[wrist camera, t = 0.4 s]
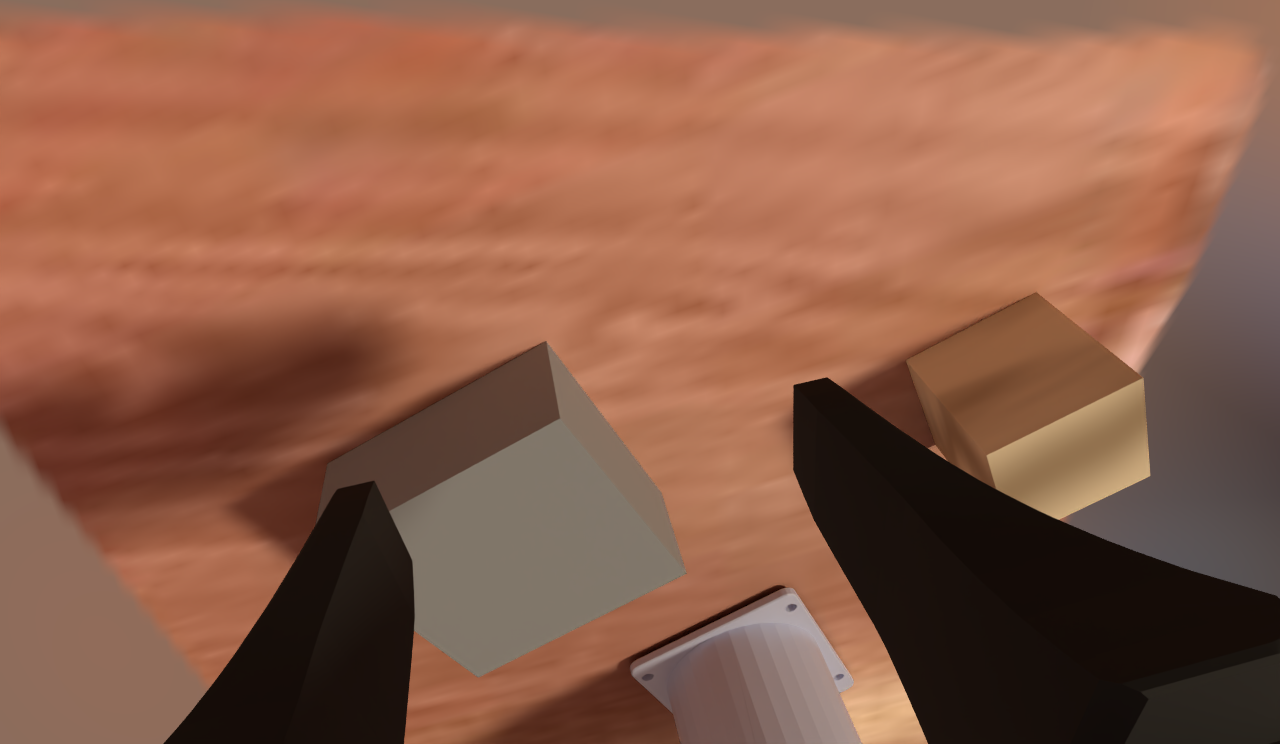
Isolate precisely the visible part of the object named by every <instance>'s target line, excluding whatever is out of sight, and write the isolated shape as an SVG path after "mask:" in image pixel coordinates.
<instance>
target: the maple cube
mask: <svg viewBox="0 0 1280 744" xmlns="http://www.w3.org/2000/svg"><path fill="white" fill-rule="evenodd" d="M906 363H907V365H908V368H909V371H910V374H911V377H912V380H913V382H914V385H915V388H916V391H917V394H918V397H919V400H920V402H921V405H922V408H923V411H924V414H925V417H926V419H927V422H928V425H929V428H930V431H931V434H932V436H933V439H934V442H935V445H936V446H937V447H938V449H939V450H940V451H941V453H942V454H943V455H944V456H945V458H946V459H947V460H948V461H949V462H950V463H951V464H953V465H955V466H956V467H958V468H960V469H962V470H963V471H965V472H967V473H968V474H970V475H972V476H973V477H975V478H977V479H978V480H980V481H982V482H984V483H986V484H987V485H989V486H991V487H993V488H995V489H997V490H998V491H1000V492H1002V493H1004V494H1006V495H1008V496H1010V497H1012V498H1014V499H1016V500H1018V501H1020V502H1022V503H1024V504H1026V505H1028V506H1030V507H1032V508H1034V509H1036V510H1038V511H1040V512H1042V513H1045V514H1047V515H1049V516H1051V517H1053V518H1055V519H1058V520H1059V519H1061V518H1063V517H1065V516H1067V515H1069V514H1071V513H1074V512H1076V511H1078V510H1080V509H1082V508H1084V507H1086V506H1088V505H1090V504H1092V503H1094V502H1097V501H1098V500H1101V499H1103V498H1105V497H1107V496H1109V495H1111V494H1113V493H1115V492H1117V491H1119V490H1122V489H1124V488H1126V487H1128V486H1130V485H1132V484H1134V483H1136V482H1138V481H1141V480H1143V479H1145V478H1147V477H1149V476H1150V465H1149V452H1148V438H1147V424H1146V410H1145V396H1144V382H1143V377H1142V376H1140V375H1139V374H1138V373H1137V372H1135V371H1134V370H1133V369H1132V368H1130V367H1129V366H1128V365H1127V364H1125V363H1124V362H1123V361H1122V360H1120V359H1119V358H1118V357H1117V356H1115V355H1114V354H1113V353H1112V352H1110V351H1109V350H1108V349H1107V348H1105V347H1104V346H1103V345H1102V344H1100V343H1099V342H1098V341H1097V340H1095V339H1094V338H1093V337H1092V336H1090V335H1089V334H1088V333H1087V332H1085V331H1084V330H1083V329H1082V328H1080V327H1079V326H1078V325H1077V324H1075V323H1074V322H1073V321H1072V320H1070V319H1069V318H1068V317H1067V316H1065V315H1064V314H1063V313H1062V312H1060V311H1059V310H1058V309H1057V308H1055V307H1054V306H1053V305H1052V304H1050V303H1049V302H1048V301H1047V300H1045V299H1044V298H1043V297H1042V296H1040V295H1039V294H1038V293H1037V292H1036V293H1034V294H1032V295H1030V296H1028V297H1026V298H1024V299H1023V300H1021V301H1019V302H1017V303H1015V304H1013V305H1011V306H1009V307H1007V308H1005V309H1003V310H1001V311H999V312H998V313H996V314H994V315H992V316H990V317H988V318H986V319H984V320H982V321H980V322H978V323H976V324H974V325H973V326H971V327H969V328H967V329H965V330H963V331H961V332H959V333H957V334H955V335H953V336H951V337H949V338H948V339H946V340H944V341H942V342H940V343H938V344H936V345H934V346H932V347H930V348H928V349H926V350H924V351H923V352H921V353H919V354H917V355H915V356H913V357H911V358H909V359H907V360H906Z"/></svg>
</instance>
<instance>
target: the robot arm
mask: <svg viewBox="0 0 1280 744" xmlns="http://www.w3.org/2000/svg"><path fill="white" fill-rule="evenodd" d="M793 470H794V473H795V475H796V478H797V480H798V483H799V485H800V488H801V490H802V493H803V495H804V498H805V500H806V502H807V505H808V507H809V509H810V512H811V514H812V516H813V519H814V521H815V522H816V524H817V526H818V528H819V530H820V531H821V533H822V535H823V537H824V539H825V540H826V542H827V544H828V546H829V547H830V549H831V551H832V553H833V554H834V556H835V558H836V560H837V561H838V563H839V565H840V567H841V568H842V570H843V572H844V574H845V575H846V577H847V579H848V581H849V582H850V584H851V586H852V587H853V589H854V591H855V593H856V594H857V596H858V598H859V600H860V601H861V603H862V605H863V607H864V608H865V610H866V612H867V614H868V615H869V617H870V619H871V620H872V622H873V624H874V626H875V628H876V630H877V631H878V633H879V635H880V637H881V639H882V641H883V643H884V645H885V647H886V649H887V651H888V653H889V655H890V658H891V660H892V662H893V664H894V666H895V669H896V671H897V673H898V675H899V678H900V680H901V682H902V684H903V687H904V689H905V691H906V693H907V695H908V698H909V700H910V702H911V705H912V707H913V709H914V712H915V714H916V716H917V719H918V721H919V723H920V726H921V728H922V730H923V733H924V735H925V737H926V740H927V742H928V744H1280V599H1279V598H1278V597H1277V596H1275V595H1272V594H1268V593H1265V592H1262V591H1258V590H1255V589H1252V588H1248V587H1245V586H1241V585H1238V584H1235V583H1231V582H1228V581H1224V580H1221V579H1217V578H1214V577H1211V576H1207V575H1204V574H1200V573H1197V572H1194V571H1191V570H1187V569H1184V568H1181V567H1179V566H1175V565H1173V564H1170V563H1167V562H1164V561H1161V560H1158V559H1156V558H1153V557H1150V556H1147V555H1144V554H1141V553H1139V552H1136V551H1133V550H1130V549H1128V548H1125V547H1123V546H1120V545H1117V544H1115V543H1112V542H1109V541H1107V540H1104V539H1102V538H1100V537H1097V536H1095V535H1093V534H1090V533H1088V532H1086V531H1083V530H1081V529H1079V528H1076V527H1074V526H1071V525H1069V524H1067V523H1064V522H1062V521H1060V520H1058V519H1055V518H1053V517H1051V516H1049V515H1047V514H1045V513H1042V512H1040V511H1038V510H1036V509H1034V508H1032V507H1030V506H1028V505H1026V504H1024V503H1022V502H1020V501H1018V500H1016V499H1014V498H1012V497H1010V496H1008V495H1006V494H1004V493H1002V492H1000V491H998V490H997V489H995V488H993V487H991V486H989V485H987V484H986V483H984V482H982V481H980V480H978V479H977V478H975V477H973V476H972V475H970V474H968V473H967V472H965V471H963V470H962V469H960V468H958V467H956V466H955V465H953V464H951V463H950V462H948V461H946V460H945V459H943V458H942V457H940V456H938V455H937V454H935V453H934V452H932V451H931V450H929V449H928V448H926V447H925V446H923V445H922V444H920V443H919V442H917V441H916V440H914V439H913V438H911V437H910V436H908V435H907V434H905V433H904V432H902V431H901V430H899V429H898V428H897V427H895V426H894V425H892V424H891V423H889V422H888V421H887V420H885V419H884V418H883V417H881V416H880V415H878V414H877V413H876V412H874V411H873V410H871V409H870V408H869V407H867V406H866V405H865V404H863V403H862V402H861V401H859V400H858V399H856V398H855V397H854V396H852V395H851V394H850V393H848V392H847V391H846V390H844V389H843V388H841V387H840V386H839V385H837V384H836V383H834V382H833V381H832V380H830V379H829V378H822V379H818V380H813V381H809V382H805V383H800V384H796V385H794V404H793ZM414 622H415V605H414V580H413V561H412V559H411V556H410V554H409V552H408V550H407V548H406V546H405V544H404V542H403V540H402V537H401V535H400V533H399V531H398V529H397V527H396V525H395V523H394V521H393V519H392V516H391V514H390V512H389V510H388V508H387V506H386V504H385V502H384V500H383V498H382V495H381V493H380V491H379V489H378V487H377V485H376V483H375V481H370V482H365V483H361V484H357V485H352V486H348V487H343V488H339V489H337V490H336V491H335V493H334V494H333V496H332V498H331V499H330V501H329V503H328V504H327V506H326V508H325V510H324V511H323V513H322V515H321V517H320V518H319V520H318V522H317V524H316V525H315V527H314V529H313V531H312V532H311V534H310V536H309V538H308V539H307V541H306V543H305V545H304V546H303V548H302V550H301V551H300V553H299V555H298V557H297V558H296V560H295V562H294V563H293V565H292V567H291V568H290V570H289V571H288V573H287V575H286V576H285V578H284V580H283V581H282V583H281V585H280V586H279V588H278V589H277V591H276V593H275V594H274V596H273V598H272V599H271V601H270V602H269V604H268V606H267V607H266V609H265V610H264V612H263V613H262V615H261V616H260V618H259V619H258V621H257V622H256V624H255V625H254V626H253V628H252V629H251V631H250V632H249V634H248V635H247V637H246V638H245V640H244V641H243V643H242V644H241V646H240V647H239V649H238V650H237V652H236V653H235V654H234V656H233V657H232V659H231V660H230V661H229V663H228V664H227V665H226V667H225V668H224V670H223V671H222V672H221V674H220V675H219V676H218V678H217V679H216V680H215V682H214V683H213V684H212V686H211V687H210V688H209V690H208V691H207V692H206V693H205V695H204V696H203V697H202V698H201V700H200V701H199V702H198V703H197V705H196V706H195V707H194V709H193V710H192V711H191V712H190V714H189V715H188V716H187V717H186V719H185V720H184V721H183V722H182V723H181V724H180V726H179V727H178V728H177V729H176V730H175V731H174V732H173V734H172V735H171V736H170V737H169V738H168V739H167V740H166V742H164V744H404V736H405V725H406V714H407V703H408V692H409V681H410V670H411V659H412V647H413V635H414ZM630 671H631V675H632V676H633V677H634V678H635V679H636V680H637V681H638V682H639V683H640V684H641V685H642V686H643V687H645V688H646V689H647V690H648V691H649V692H650V693H651V694H652V695H653V696H654V697H655V698H656V699H657V700H659V701H660V702H661V703H662V704H663V705H664V706H665V707H666V708H667V709H668V710H669V711H670V712H671V713H673V716H674V720H675V724H676V728H677V732H678V736H679V740H680V744H862V742H861V740H860V738H859V736H858V733H857V731H856V729H855V727H854V724H853V722H852V720H851V718H850V715H849V713H848V711H847V709H846V706H845V704H844V702H843V700H842V698H841V695H840V693H841V692H843V691H845V690H847V689H849V688H851V687H852V685H853V683H854V680H853V678H852V676H851V674H850V673H849V671H848V670H847V668H846V667H845V665H844V664H843V662H842V661H841V659H840V658H839V656H838V655H837V653H836V652H835V650H834V649H833V647H832V646H831V644H830V643H829V641H828V640H827V638H826V637H825V635H824V634H823V632H822V631H821V629H820V628H819V626H818V625H817V623H816V621H815V620H814V618H813V617H812V615H811V614H810V612H809V611H808V609H807V608H806V606H805V605H804V603H803V602H802V600H801V599H800V597H799V596H798V594H797V593H796V591H795V590H794V589H792V588H783V589H780V590H778V591H776V592H774V593H772V594H770V595H768V596H766V597H764V598H762V599H760V600H758V601H756V602H754V603H752V604H749V605H747V606H745V607H743V608H741V609H739V610H737V611H735V612H733V613H731V614H729V615H727V616H725V617H723V618H721V619H719V620H717V621H715V622H713V623H711V624H709V625H707V626H705V627H702V628H700V629H698V630H696V631H694V632H692V633H690V634H688V635H686V636H684V637H682V638H680V639H678V640H676V641H674V642H672V643H670V644H668V645H666V646H664V647H662V648H660V649H657V650H655V651H653V652H651V653H649V654H647V655H645V656H643V657H641V658H639V659H637V660H635V661H634V662H633V663H632V664H631V665H630Z"/></svg>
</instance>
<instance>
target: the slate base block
mask: <svg viewBox="0 0 1280 744" xmlns="http://www.w3.org/2000/svg"><path fill="white" fill-rule="evenodd" d="M370 481H375V483H376V485H377V487H378V489H379V491H380V493H381V495H382V498H383V500H384V502H385V504H386V506H387V508H388V510H389V512H390V514H391V516H392V519H393V521H394V523H395V525H396V527H397V529H398V531H399V533H400V535H401V537H402V540H403V542H404V544H405V546H406V548H407V550H408V552H409V554H410V556H411V559H412V561H413V580H414V605H415V622H414V631H415V632H417V633H418V634H419V635H421V636H422V637H424V638H425V639H426V640H428V641H429V642H430V643H432V644H433V645H434V646H436V647H437V648H439V649H440V650H441V651H443V652H444V653H445V654H447V655H448V656H449V657H451V658H452V659H454V660H455V661H456V662H458V663H459V664H460V665H462V666H463V667H465V668H466V669H467V670H469V671H470V672H471V673H473V674H474V675H475V676H477V677H480V676H482V675H484V674H486V673H488V672H490V671H492V670H494V669H496V668H498V667H500V666H502V665H504V664H506V663H508V662H510V661H512V660H514V659H516V658H518V657H520V656H522V655H524V654H526V653H528V652H530V651H532V650H534V649H536V648H538V647H540V646H542V645H544V644H546V643H548V642H550V641H552V640H554V639H556V638H558V637H560V636H562V635H564V634H566V633H568V632H570V631H572V630H574V629H576V628H578V627H580V626H582V625H584V624H586V623H588V622H590V621H592V620H594V619H596V618H598V617H600V616H602V615H604V614H606V613H608V612H611V611H613V610H615V609H617V608H619V607H621V606H623V605H625V604H627V603H629V602H631V601H633V600H635V599H637V598H639V597H641V596H643V595H645V594H647V593H649V592H651V591H653V590H655V589H657V588H659V587H661V586H663V585H665V584H667V583H669V582H671V581H673V580H675V579H677V578H679V577H681V576H683V575H685V574H687V573H686V570H685V566H684V563H683V560H682V557H681V554H680V550H679V547H678V544H677V541H676V538H675V534H674V531H673V528H672V525H671V522H670V518H669V515H668V512H667V509H666V506H665V502H664V499H663V496H662V493H661V492H660V490H659V489H658V488H657V486H656V485H655V484H654V482H653V481H652V480H651V478H650V477H649V476H648V474H647V473H646V472H645V470H644V469H643V468H642V467H641V465H640V464H639V463H638V461H637V460H636V459H635V457H634V456H633V455H632V453H631V452H630V451H629V449H628V448H627V447H626V445H625V444H624V443H623V441H622V440H621V439H620V438H619V436H618V435H617V434H616V432H615V431H614V430H613V428H612V427H611V426H610V424H609V423H608V422H607V420H606V419H605V418H604V416H603V415H602V414H601V413H600V411H599V410H598V409H597V407H596V406H595V405H594V403H593V402H592V401H591V399H590V398H589V397H588V395H587V394H586V393H585V391H584V390H583V389H582V387H581V386H580V385H579V384H578V382H577V381H576V380H575V378H574V377H573V376H572V374H571V373H570V372H569V370H568V369H567V368H566V366H565V365H564V364H563V362H562V361H561V360H560V359H559V357H558V356H557V355H556V353H555V352H554V351H553V349H552V348H551V347H550V345H549V344H548V343H547V341H545V342H544V343H542V344H540V345H538V346H536V347H535V348H533V349H531V350H529V351H528V352H526V353H524V354H522V355H520V356H519V357H517V358H515V359H513V360H511V361H510V362H508V363H506V364H504V365H503V366H501V367H499V368H497V369H495V370H494V371H492V372H490V373H488V374H486V375H485V376H483V377H481V378H479V379H478V380H476V381H474V382H472V383H470V384H469V385H467V386H465V387H463V388H461V389H460V390H458V391H456V392H454V393H453V394H451V395H449V396H447V397H445V398H444V399H442V400H440V401H438V402H437V403H435V404H433V405H431V406H429V407H428V408H426V409H424V410H422V411H420V412H419V413H417V414H415V415H413V416H412V417H410V418H408V419H406V420H404V421H403V422H401V423H399V424H397V425H395V426H394V427H392V428H390V429H388V430H387V431H385V432H383V433H381V434H379V435H378V436H376V437H374V438H372V439H370V440H369V441H367V442H365V443H363V444H362V445H360V446H358V447H356V448H354V449H353V450H351V451H349V452H347V453H346V454H344V455H342V456H340V457H338V458H337V459H335V460H333V461H331V462H329V463H328V464H327V468H326V473H325V479H324V484H323V489H322V494H321V499H320V504H319V509H318V514H317V520H316V524H317V522H318V520H319V518H320V517H321V515H322V513H323V511H324V510H325V508H326V506H327V504H328V503H329V501H330V499H331V498H332V496H333V494H334V493H335V491H336V490H337V489H339V488H343V487H348V486H352V485H357V484H361V483H365V482H370Z"/></svg>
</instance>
